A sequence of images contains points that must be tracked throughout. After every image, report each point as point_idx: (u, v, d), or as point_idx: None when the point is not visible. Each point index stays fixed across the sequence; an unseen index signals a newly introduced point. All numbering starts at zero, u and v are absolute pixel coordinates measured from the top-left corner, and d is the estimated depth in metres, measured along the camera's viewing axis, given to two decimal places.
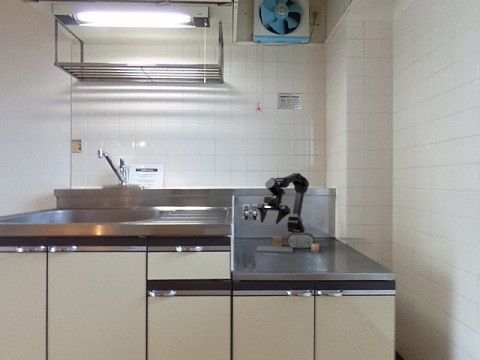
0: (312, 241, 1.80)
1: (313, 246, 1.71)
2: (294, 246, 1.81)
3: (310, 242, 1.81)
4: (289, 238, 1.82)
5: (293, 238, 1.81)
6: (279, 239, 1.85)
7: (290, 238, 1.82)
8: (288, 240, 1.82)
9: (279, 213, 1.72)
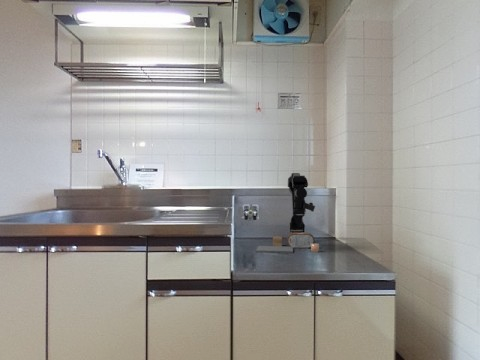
0: (312, 241, 1.80)
1: (313, 246, 1.71)
2: (294, 246, 1.81)
3: (310, 242, 1.81)
4: (289, 238, 1.82)
5: (293, 238, 1.81)
6: (279, 239, 1.85)
7: (290, 238, 1.82)
8: (288, 240, 1.82)
9: (302, 216, 1.87)
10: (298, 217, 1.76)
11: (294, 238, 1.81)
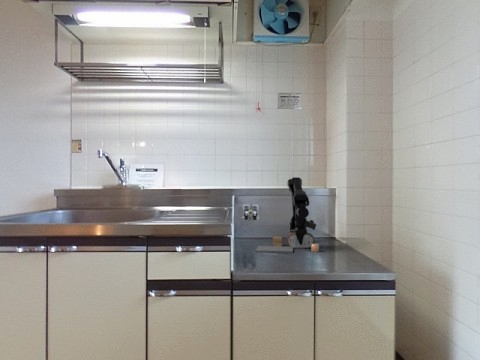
0: (312, 241, 1.80)
1: (313, 246, 1.71)
2: (294, 246, 1.81)
3: (310, 242, 1.80)
4: (289, 238, 1.81)
5: (293, 238, 1.81)
6: (279, 239, 1.85)
7: (290, 238, 1.81)
8: (288, 240, 1.82)
9: None
10: (300, 235, 1.80)
11: (294, 238, 1.81)
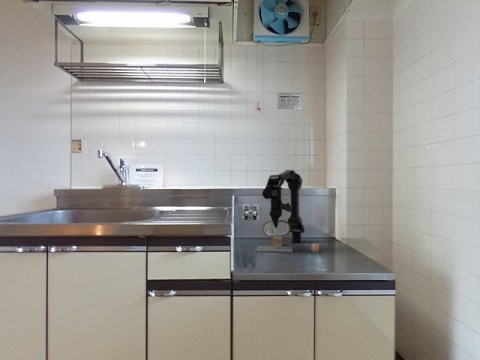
0: (288, 228, 1.74)
1: (313, 246, 1.71)
2: (270, 234, 1.76)
3: (286, 229, 1.75)
4: (264, 226, 1.76)
5: (268, 226, 1.76)
6: (279, 239, 1.85)
7: (265, 227, 1.76)
8: (263, 229, 1.76)
9: None
10: (275, 217, 1.74)
11: (269, 226, 1.76)
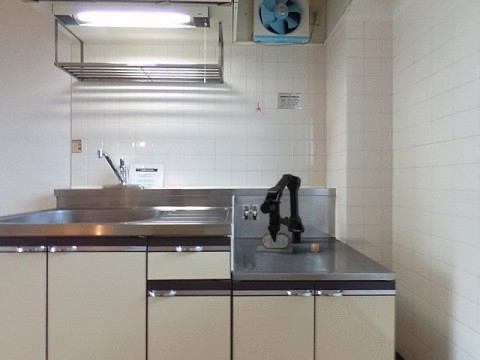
0: (287, 241, 1.74)
1: (313, 246, 1.71)
2: (269, 246, 1.75)
3: (285, 242, 1.74)
4: (263, 238, 1.76)
5: (267, 238, 1.75)
6: None
7: (264, 238, 1.76)
8: (262, 240, 1.76)
9: None
10: (273, 232, 1.74)
11: (269, 238, 1.75)
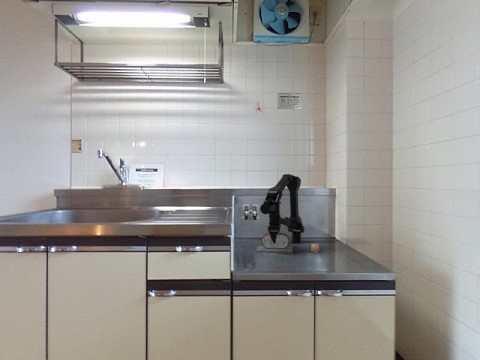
0: (287, 241, 1.74)
1: (313, 246, 1.71)
2: (269, 246, 1.75)
3: (285, 242, 1.74)
4: (263, 238, 1.76)
5: (267, 238, 1.75)
6: None
7: (264, 238, 1.76)
8: (262, 240, 1.76)
9: None
10: (273, 233, 1.71)
11: (269, 238, 1.75)
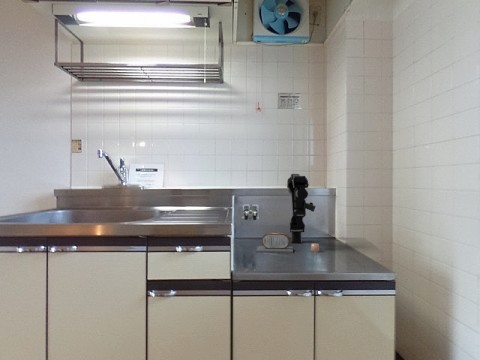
0: (287, 241, 1.74)
1: (313, 246, 1.71)
2: (269, 246, 1.75)
3: (285, 242, 1.74)
4: (263, 238, 1.76)
5: (267, 238, 1.75)
6: None
7: (264, 238, 1.76)
8: (262, 240, 1.76)
9: None
10: (299, 217, 1.78)
11: (269, 238, 1.75)
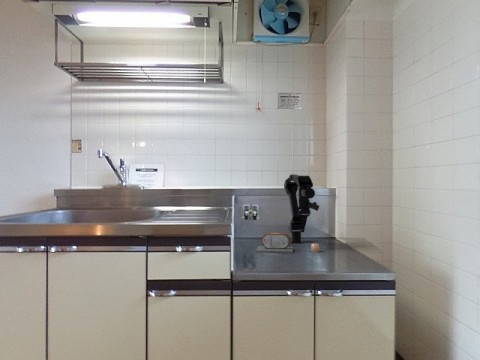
0: (287, 241, 1.74)
1: (313, 246, 1.71)
2: (269, 246, 1.75)
3: (285, 242, 1.74)
4: (263, 238, 1.76)
5: (267, 238, 1.75)
6: None
7: (264, 238, 1.76)
8: (262, 240, 1.76)
9: None
10: (303, 216, 1.79)
11: (269, 238, 1.75)
